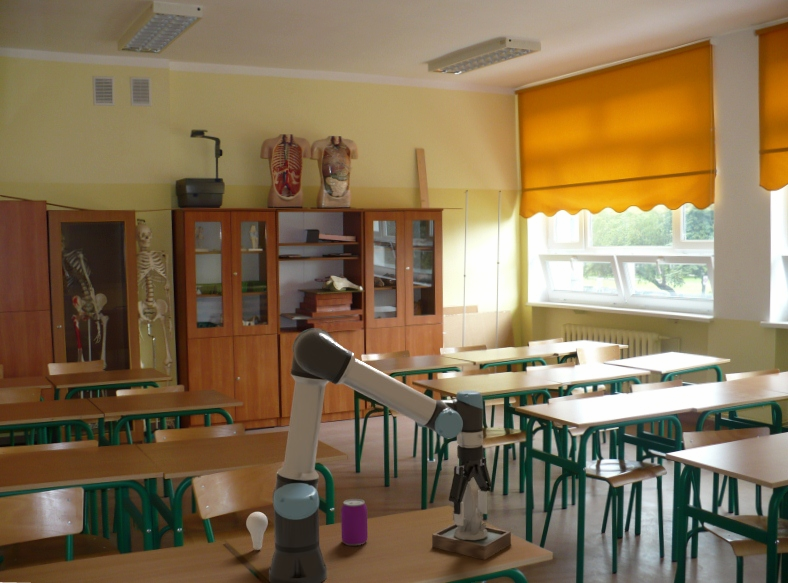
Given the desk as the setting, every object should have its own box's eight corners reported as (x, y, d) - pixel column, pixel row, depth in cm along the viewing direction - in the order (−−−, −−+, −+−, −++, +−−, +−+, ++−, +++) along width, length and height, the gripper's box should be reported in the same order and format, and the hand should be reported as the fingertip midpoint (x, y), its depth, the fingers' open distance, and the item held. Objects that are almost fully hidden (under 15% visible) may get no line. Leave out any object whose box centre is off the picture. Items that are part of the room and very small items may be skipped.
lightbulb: (242, 551, 227) (241, 513, 227) (255, 544, 232) (254, 507, 232) (259, 555, 224) (258, 516, 224) (272, 548, 230) (271, 510, 229)
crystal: (458, 544, 221) (457, 491, 220) (449, 527, 234) (448, 478, 233) (493, 541, 222) (492, 488, 221) (482, 525, 235) (481, 475, 235)
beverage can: (342, 547, 229) (341, 506, 229) (341, 538, 237) (340, 498, 237) (368, 546, 230) (367, 505, 230) (366, 537, 238) (366, 497, 237)
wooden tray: (432, 546, 228) (432, 534, 228) (459, 532, 240) (459, 520, 240) (484, 559, 218) (484, 546, 217) (510, 544, 229) (510, 531, 229)
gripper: (458, 455, 216) (459, 532, 217) (502, 438, 235) (503, 510, 236) (435, 451, 220) (436, 527, 221) (480, 435, 240) (481, 505, 240)
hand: (471, 518), depth 228 cm, fingers open, 12 cm apart
